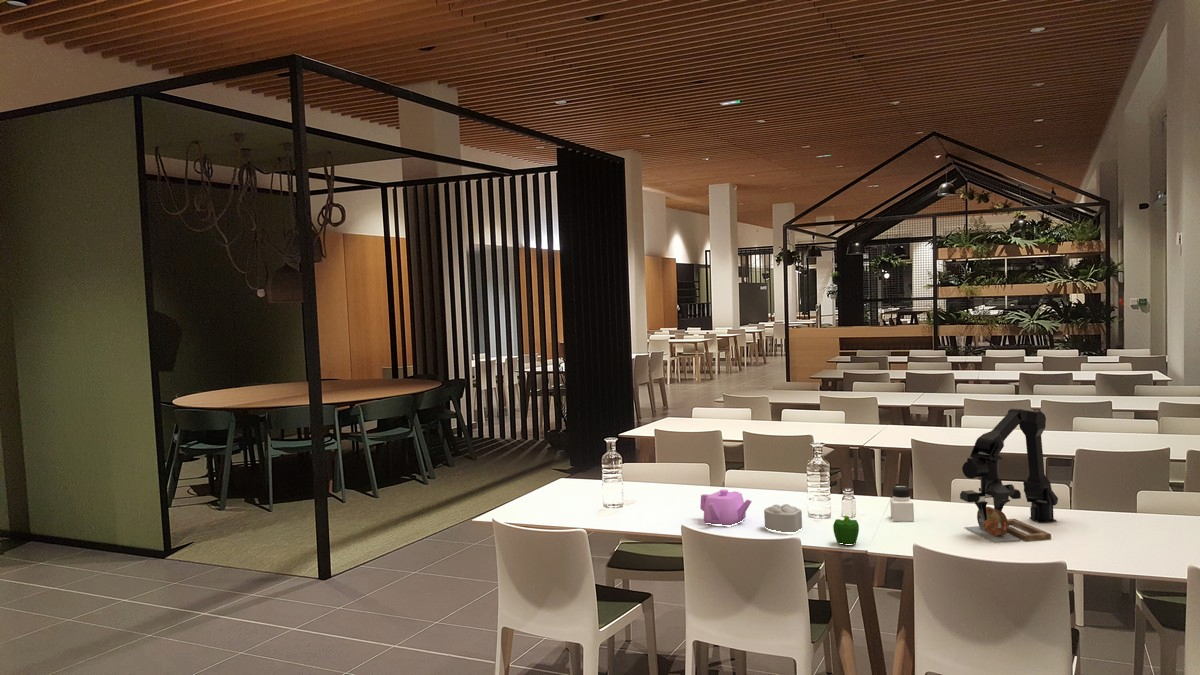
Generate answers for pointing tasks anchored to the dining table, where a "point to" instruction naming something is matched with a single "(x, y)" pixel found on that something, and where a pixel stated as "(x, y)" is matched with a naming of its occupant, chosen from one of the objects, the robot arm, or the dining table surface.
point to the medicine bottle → (901, 504)
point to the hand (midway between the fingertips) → (991, 519)
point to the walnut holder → (1035, 532)
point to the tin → (993, 522)
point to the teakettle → (724, 507)
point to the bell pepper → (846, 530)
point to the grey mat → (991, 537)
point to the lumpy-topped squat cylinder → (783, 518)
